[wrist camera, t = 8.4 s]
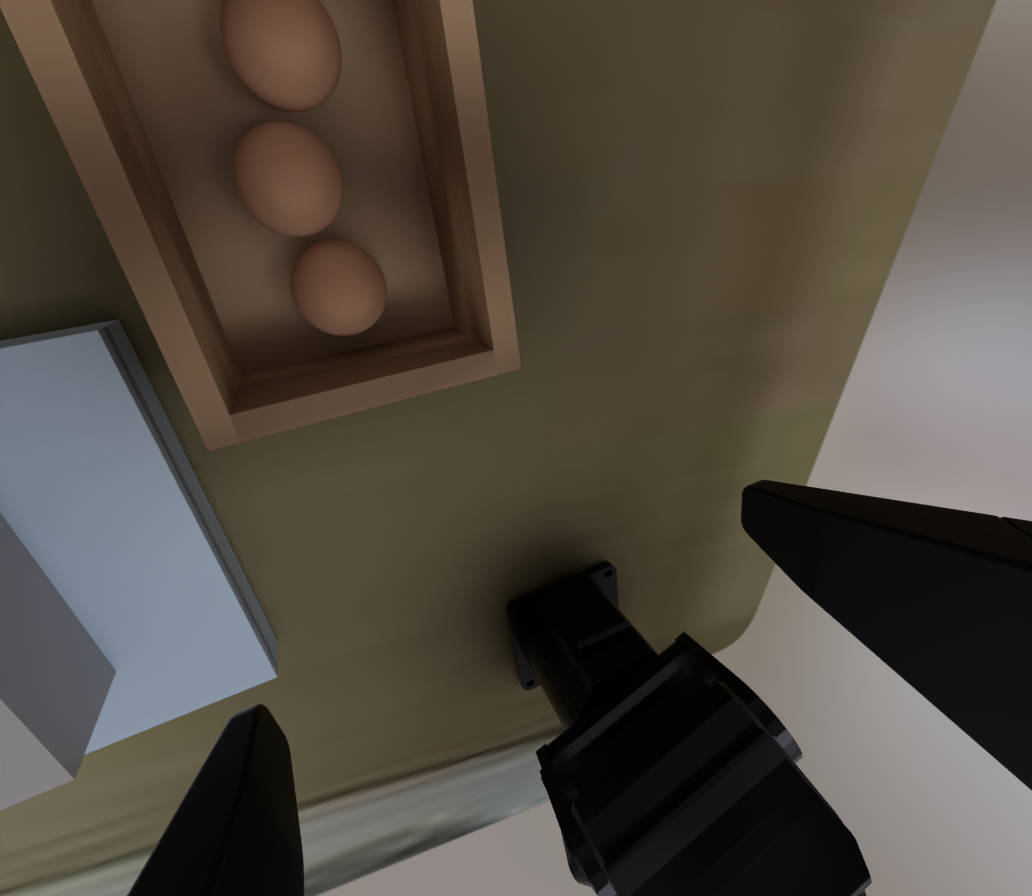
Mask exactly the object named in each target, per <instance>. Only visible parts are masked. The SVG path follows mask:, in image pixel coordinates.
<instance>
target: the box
mask: <svg viewBox="0 0 1032 896" xmlns="http://www.w3.org/2000/svg"><path fill="white" fill-rule="evenodd" d="M0 9H1V11H2V13H3V15H4V17H5V19H6V21H7V23H8V26H9V28H10V30H11V32H12V34H13V36H14V38H15V41H16V43H17V45H18V47H19V49H20V51H21V53H22V55H23V58H24V60H25V62H26V64H27V66H28V68H29V70H30V73H31V75H32V77H33V79H34V81H35V83H36V85H37V87H38V90H39V92H40V94H41V96H42V98H43V100H44V102H45V105H46V107H47V109H48V111H49V113H50V115H51V117H52V119H53V122H54V124H55V126H56V128H57V130H58V132H59V134H60V137H61V139H62V141H63V143H64V145H65V147H66V149H67V151H68V154H69V156H70V158H71V160H72V162H73V164H74V166H75V169H76V171H77V173H78V175H79V177H80V179H81V181H82V183H83V186H84V188H85V190H86V192H87V194H88V196H89V198H90V201H91V203H92V205H93V207H94V209H95V211H96V213H97V215H98V218H99V220H100V222H101V224H102V226H103V228H104V230H105V233H106V235H107V237H108V239H109V241H110V243H111V245H112V247H113V250H114V252H115V254H116V256H117V258H118V260H119V262H120V265H121V267H122V269H123V271H124V273H125V275H126V277H127V279H128V282H129V284H130V286H131V288H132V290H133V292H134V294H135V297H136V299H137V301H138V303H139V305H140V307H141V309H142V311H143V314H144V316H145V318H146V320H147V322H148V324H149V326H150V329H151V331H152V333H153V335H154V337H155V339H156V341H157V343H158V346H159V348H160V350H161V352H162V354H163V356H164V358H165V361H166V363H167V365H168V367H169V369H170V371H171V373H172V375H173V378H174V380H175V382H176V384H177V386H178V388H179V390H180V393H181V395H182V397H183V399H184V401H185V403H186V405H187V407H188V410H189V412H190V414H191V416H192V418H193V420H194V422H195V425H196V427H197V429H198V431H199V433H200V435H201V437H202V439H203V442H204V444H205V446H206V448H207V450H208V451H211V450H215V449H219V448H223V447H227V446H230V445H234V444H238V443H242V442H246V441H249V440H253V439H257V438H261V437H265V436H268V435H272V434H276V433H280V432H284V431H287V430H291V429H295V428H299V427H303V426H306V425H310V424H314V423H318V422H321V421H325V420H329V419H333V418H337V417H340V416H344V415H348V414H352V413H356V412H359V411H363V410H367V409H371V408H375V407H378V406H382V405H386V404H390V403H394V402H397V401H401V400H405V399H409V398H413V397H416V396H420V395H424V394H428V393H432V392H435V391H439V390H443V389H447V388H451V387H454V386H458V385H462V384H466V383H469V382H473V381H477V380H481V379H485V378H488V377H492V376H496V375H500V374H504V373H507V372H511V371H515V370H519V369H521V362H520V355H519V347H518V340H517V332H516V325H515V317H514V310H513V302H512V294H511V287H510V279H509V272H508V264H507V257H506V249H505V242H504V234H503V227H502V219H501V211H500V204H499V196H498V189H497V181H496V174H495V166H494V159H493V151H492V143H491V136H490V128H489V121H488V113H487V106H486V98H485V91H484V83H483V76H482V68H481V60H480V53H479V45H478V38H477V30H476V23H475V15H474V8H473V0H0Z"/></svg>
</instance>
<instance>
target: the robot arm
mask: <svg viewBox="0 0 1032 896" xmlns="http://www.w3.org/2000/svg"><path fill="white" fill-rule="evenodd" d="M741 523H742V526H743V528H744V530H745V531H746V533H747V534H748V535H749V536H750V537H751V538H752V539H753V540H754V541H755V542H756V543H757V544H758V545H759V546H760V547H761V549H762V550H763V551H764V552H765V553H766V554H767V555H768V556H769V557H770V558H771V559H772V560H773V561H774V562H775V563H776V564H777V565H778V566H779V567H780V568H781V569H782V570H783V571H784V572H785V573H786V574H787V576H789V578H790V579H791V580H792V581H793V582H794V583H795V584H796V585H797V586H798V587H799V588H800V589H801V590H802V591H803V592H805V593H806V594H807V595H808V596H809V597H810V598H811V599H812V600H813V601H815V602H816V603H817V604H818V605H819V606H820V607H821V608H823V609H824V610H825V611H826V612H827V613H828V614H829V615H831V616H832V617H833V618H834V619H835V620H836V621H838V622H839V623H840V624H841V625H842V626H843V627H844V628H846V629H847V630H848V631H849V632H850V633H851V634H853V635H854V636H855V637H856V638H857V639H858V640H859V641H861V642H862V643H863V644H864V645H865V646H866V647H867V648H869V649H870V650H871V651H872V652H873V653H874V654H876V655H877V656H878V657H879V658H880V659H881V660H882V661H884V662H885V663H886V664H887V665H888V666H889V667H890V668H892V669H893V670H894V671H895V672H896V673H897V674H898V675H900V676H901V677H902V678H903V679H904V680H905V681H907V682H908V683H909V684H910V685H911V686H912V687H914V688H915V689H916V690H917V691H918V692H919V693H920V694H921V695H923V696H924V697H925V698H926V699H927V700H928V701H929V702H931V703H932V704H933V705H934V706H935V707H936V708H938V709H939V710H940V711H941V712H942V713H943V714H944V715H946V716H947V717H948V718H949V719H950V720H951V721H953V722H954V723H955V724H956V725H957V726H958V727H959V728H961V729H962V730H963V731H964V732H965V733H966V734H968V735H969V736H970V737H971V738H972V739H973V740H974V741H976V742H977V743H978V744H979V745H980V746H981V747H983V749H985V750H986V751H987V752H988V753H989V754H990V755H992V756H993V757H994V758H995V759H996V760H997V761H999V762H1000V763H1001V764H1002V765H1003V766H1004V767H1005V768H1007V769H1008V770H1009V771H1010V772H1011V773H1012V774H1013V775H1015V776H1016V777H1017V778H1018V779H1019V780H1020V781H1021V782H1023V783H1024V784H1025V785H1026V786H1027V787H1028V788H1029V789H1031V790H1032V521H1027V520H1020V519H1014V518H1008V517H1001V518H999V517H998V516H994V515H988V514H981V513H975V512H968V511H962V510H956V509H948V508H943V507H936V506H930V505H923V504H917V503H910V502H904V501H897V500H890V499H885V498H878V497H871V496H865V495H858V494H852V493H846V492H840V491H833V490H827V489H820V488H814V487H808V486H801V485H795V484H788V483H782V482H775V481H769V480H760V481H757V482H755V483H753V484H751V485H748V486H746V487H745V488H744V490H743V492H742V508H741ZM516 609H518V610H516ZM515 610H516V611H515ZM506 613H507V619H508V624H509V629H510V634H511V639H512V645H513V650H514V655H515V660H516V666H517V671H518V676H519V681H520V683H521V685H522V687H523V689H524V690H531V689H533V688H535V687H537V686H539V685H541V687H542V688H543V690H544V692H545V694H546V696H547V697H548V699H549V701H550V703H551V705H552V706H553V708H554V710H555V712H556V714H557V715H558V717H559V719H560V721H561V723H562V724H563V726H564V728H565V731H564V732H563V733H562V734H560V735H559V736H558V737H557V738H556V739H554V740H553V741H552V742H551V743H549V744H548V745H546V744H545V745H543V746H542V747H541V748H540V749H538V750H537V751H536V754H537V757H538V759H539V762H540V765H541V768H542V769H541V770H540V773H541V776H542V777H541V779H542V781H543V784H544V786H545V788H546V790H547V792H548V795H549V798H550V801H551V804H552V806H553V809H554V812H555V815H556V818H557V820H558V823H559V826H560V829H561V833H562V837H563V842H564V847H565V851H566V856H567V860H568V865H569V868H570V871H571V873H572V875H573V876H574V878H575V880H576V881H577V882H578V883H580V884H583V885H586V886H589V887H592V889H593V890H594V891H595V892H596V894H597V895H598V896H866V893H865V889H866V888H867V887H868V886H869V885H870V884H871V877H870V874H869V871H868V869H867V866H866V864H865V861H864V859H863V856H862V854H861V851H860V849H859V846H858V844H857V841H856V839H855V837H854V836H853V835H852V833H851V832H850V831H849V830H848V829H847V827H846V826H845V825H844V824H843V822H842V821H841V819H840V818H839V816H838V815H837V814H836V812H835V811H834V810H833V809H832V808H831V806H830V805H829V804H828V803H827V801H826V800H825V799H824V798H823V797H822V795H821V794H820V793H819V792H818V791H817V789H816V788H815V787H814V786H813V785H812V783H811V782H810V781H809V780H808V778H807V777H806V776H805V775H804V774H803V772H802V771H801V770H800V769H799V768H798V766H797V765H796V764H795V763H797V762H798V760H800V759H801V758H802V752H801V750H800V748H799V746H798V745H797V743H796V742H795V740H794V738H793V737H792V736H791V735H790V733H789V732H788V730H787V729H786V728H785V726H784V725H783V724H782V723H781V721H780V720H779V719H778V718H777V717H776V715H775V714H774V713H773V712H772V711H771V710H770V708H769V707H768V706H767V705H766V704H765V703H764V702H763V701H762V700H761V699H760V698H759V696H757V695H756V693H754V691H752V689H750V687H749V686H747V685H746V684H745V683H744V682H743V681H742V680H741V679H740V678H738V677H737V676H736V675H735V674H733V673H732V672H731V671H730V670H729V669H728V668H726V667H725V666H724V665H723V664H722V663H720V662H719V661H718V660H717V659H716V658H715V657H713V656H712V655H711V654H710V653H709V652H707V651H706V650H705V649H704V648H703V647H701V646H700V645H699V644H698V643H697V642H695V641H694V640H693V639H692V638H691V637H690V636H688V635H687V634H686V633H685V632H683V633H682V634H681V635H679V636H678V637H677V638H676V639H675V640H676V641H675V642H674V643H673V644H672V645H670V646H669V647H668V648H667V649H665V650H664V651H663V652H662V653H660V654H659V655H658V654H657V652H656V651H655V650H654V649H653V648H652V647H651V646H650V644H649V643H648V642H647V641H646V640H645V639H644V638H643V636H642V635H641V634H640V633H639V632H638V631H637V630H636V628H635V627H634V626H633V625H632V624H631V623H630V622H629V620H628V619H627V618H626V617H625V616H624V615H623V613H622V612H621V611H620V610H619V609H618V595H617V575H616V568H615V567H614V566H613V565H612V564H611V563H609V562H606V563H603V564H600V565H598V566H595V567H593V568H591V569H588V570H586V571H583V572H581V573H579V574H576V575H574V576H571V577H569V578H567V579H564V580H562V581H559V582H557V583H554V584H552V585H550V586H547V587H545V588H542V589H540V590H538V591H535V592H533V593H530V594H528V595H526V596H523V597H521V598H518V599H516V600H513V601H512V602H510V603H509V604H508V606H507V608H506ZM127 896H304V863H303V852H302V842H301V834H300V826H299V818H298V810H297V802H296V794H295V786H294V778H293V770H292V762H291V754H290V748H289V744H288V741H287V739H286V736H285V734H284V733H283V731H282V730H281V728H280V727H279V725H278V724H277V722H276V720H275V719H274V717H273V716H272V714H271V713H270V711H269V710H268V708H267V707H266V706H265V705H263V704H258V705H255V706H253V707H251V708H248V709H246V710H244V711H242V712H239V713H237V714H235V715H234V716H233V717H232V718H231V719H230V720H229V722H228V723H227V725H226V727H225V728H224V730H223V732H222V734H221V735H220V737H219V739H218V740H217V742H216V744H215V746H214V747H213V749H212V751H211V753H210V754H209V756H208V758H207V759H206V761H205V763H204V765H203V766H202V768H201V770H200V771H199V773H198V775H197V777H196V778H195V780H194V782H193V783H192V785H191V787H190V789H189V790H188V792H187V794H186V795H185V797H184V799H183V801H182V802H181V804H180V806H179V808H178V809H177V811H176V813H175V814H174V816H173V818H172V820H171V821H170V823H169V825H168V826H167V828H166V830H165V832H164V833H163V835H162V837H161V838H160V840H159V842H158V844H157V845H156V847H155V849H154V850H153V852H152V854H151V856H150V857H149V859H148V861H147V863H146V864H145V866H144V868H143V869H142V871H141V873H140V875H139V876H138V878H137V880H136V881H135V883H134V885H133V887H132V888H131V890H130V892H129V893H128V895H127Z"/></svg>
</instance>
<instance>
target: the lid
mask: <svg viewBox="0 0 1032 896" xmlns="http://www.w3.org/2000/svg"><path fill="white" fill-rule="evenodd" d="M277 669H278V641H277V639H276V637H275V635H274V633H273V631H272V629H271V627H270V625H269V623H268V621H267V619H266V617H265V614H264V612H263V610H262V608H261V606H260V604H259V602H258V600H257V598H256V596H255V594H254V592H253V590H252V588H251V586H250V584H249V582H248V580H247V578H246V576H245V574H244V572H243V570H242V568H241V566H240V564H239V562H238V560H237V558H236V556H235V554H234V552H233V550H232V548H231V546H230V544H229V542H228V539H227V537H226V535H225V533H224V531H223V529H222V527H221V525H220V523H219V521H218V519H217V517H216V515H215V513H214V511H213V509H212V507H211V505H210V503H209V501H208V499H207V497H206V495H205V493H204V491H203V489H202V487H201V485H200V483H199V481H198V479H197V477H196V475H195V473H194V471H193V469H192V466H191V464H190V462H189V460H188V458H187V456H186V454H185V452H184V450H183V448H182V446H181V444H180V442H179V440H178V438H177V436H176V434H175V432H174V430H173V428H172V426H171V424H170V422H169V420H168V418H167V416H166V414H165V412H164V410H163V408H162V406H161V404H160V402H159V400H158V398H157V396H156V394H155V391H154V389H153V387H152V385H151V383H150V381H149V379H148V377H147V375H146V373H145V371H144V369H143V367H142V365H141V363H140V361H139V359H138V357H137V355H136V353H135V351H134V349H133V347H132V345H131V343H130V341H129V339H128V337H127V335H126V333H125V331H124V329H123V327H122V325H121V323H120V321H119V319H118V320H112V321H107V322H101V323H96V324H90V325H85V326H79V327H74V328H68V329H63V330H57V331H52V332H46V333H41V334H35V335H30V336H24V337H19V338H13V339H8V340H2V341H0V810H2V809H4V808H7V807H9V806H12V805H14V804H16V803H19V802H21V801H24V800H26V799H29V798H31V797H33V796H36V795H38V794H41V793H43V792H46V791H48V790H50V789H53V788H55V787H58V786H60V785H63V784H65V783H67V782H70V781H72V780H75V777H76V774H77V772H78V769H79V767H80V764H81V761H82V759H83V756H84V755H85V754H88V753H90V752H92V751H95V750H97V749H100V748H102V747H105V746H107V745H110V744H112V743H115V742H117V741H120V740H122V739H125V738H127V737H130V736H132V735H135V734H137V733H140V732H142V731H145V730H147V729H150V728H152V727H155V726H157V725H160V724H162V723H165V722H167V721H170V720H172V719H175V718H177V717H179V716H182V715H184V714H187V713H189V712H192V711H194V710H197V709H199V708H202V707H204V706H207V705H209V704H212V703H214V702H217V701H219V700H222V699H224V698H227V697H229V696H232V695H234V694H237V693H239V692H242V691H244V690H247V689H249V688H252V687H254V686H257V685H259V684H262V683H264V682H266V681H269V680H271V679H274V678H276V677H277Z"/></svg>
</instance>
